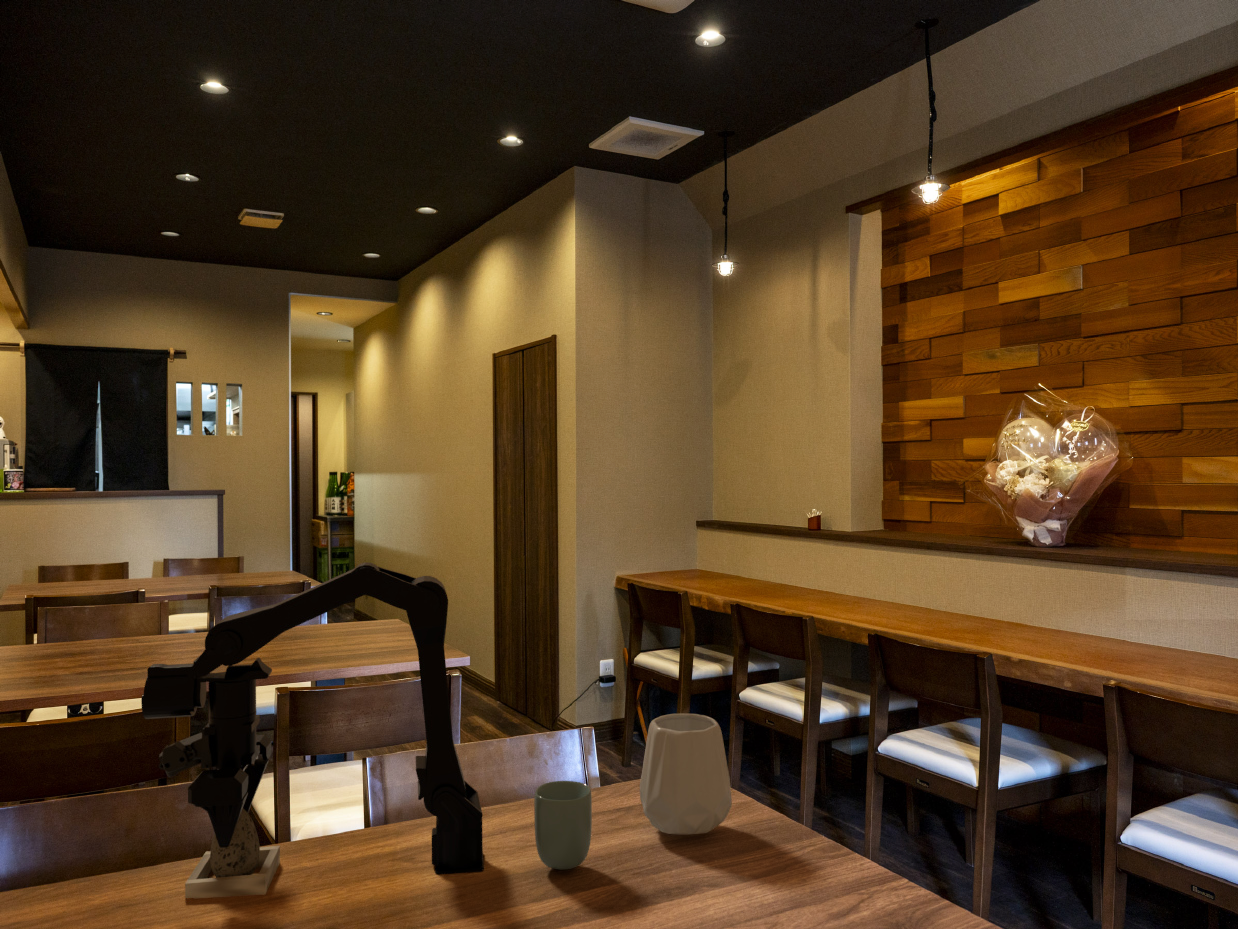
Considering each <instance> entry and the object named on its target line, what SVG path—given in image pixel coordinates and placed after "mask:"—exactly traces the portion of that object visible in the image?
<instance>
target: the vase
mask: <svg viewBox="0 0 1238 929" xmlns="http://www.w3.org/2000/svg"><path fill="white" fill-rule="evenodd" d="M721 729H722V728H721V727H720V724H719V723H718V721H717V720H716V719H714V718H712V717H710V716H708V715H704V714H698V713H687V712H686V713H682V712H681V713H670V714H665V715H660V716H658V717H656V718H654V719H652V720H651V722H650V723H649V726H648V731H647V737H646V742H645V750H644V757H643V762H642V771H641V777H640V781H639V800H640V802H641V804H642V805H641V806H642V808H643V814H644V816H645V817H646V818H647V819H648V820H649V822H650V824H651V826H652V827H653V828H654V829H656V830H658V831H660V832H662V833H664V834H668V835H699V834H707V833H709V832H711V831H713V829H716V827H718V826H720V825H721V824H722V823H723V822H725V820H726V819H727V817H728V816H729V812H730V811H731V808H732V806H733V800H732V790H731V778H730V774H729V773H730V772H729V768H728V762H727V756H726V750H725V745H724V739H723V738H724V737H723V734H722V733H723V732H722V730H721Z"/></svg>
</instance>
